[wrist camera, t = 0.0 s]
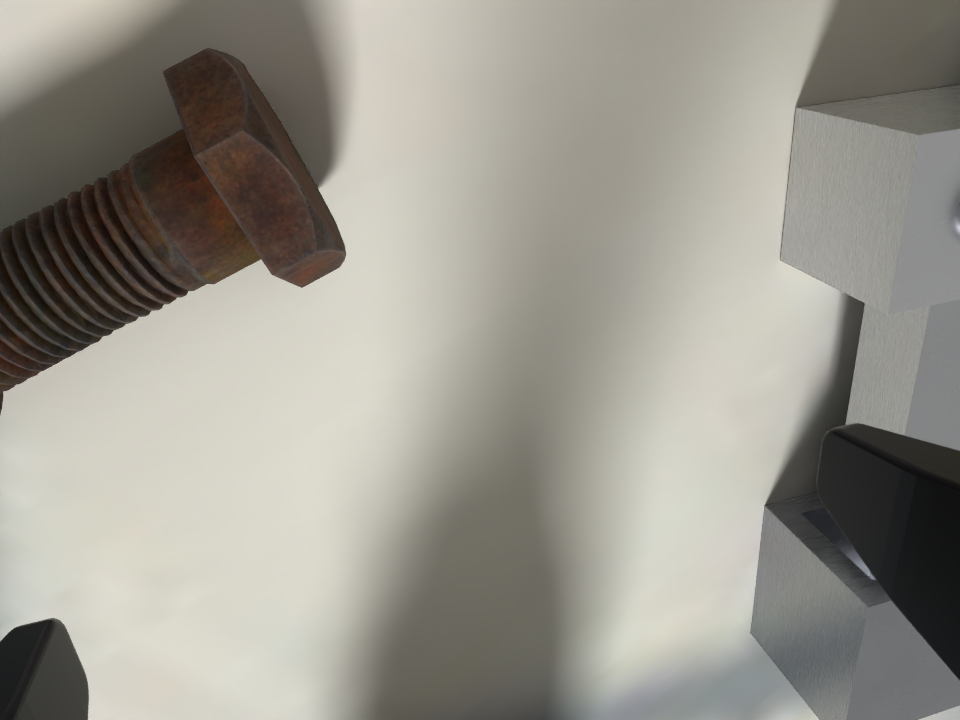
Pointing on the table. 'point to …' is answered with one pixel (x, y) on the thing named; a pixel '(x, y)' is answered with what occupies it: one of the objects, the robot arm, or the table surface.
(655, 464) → the table surface
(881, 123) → the grey l-shaped piece
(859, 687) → the socket
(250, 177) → the bolt
